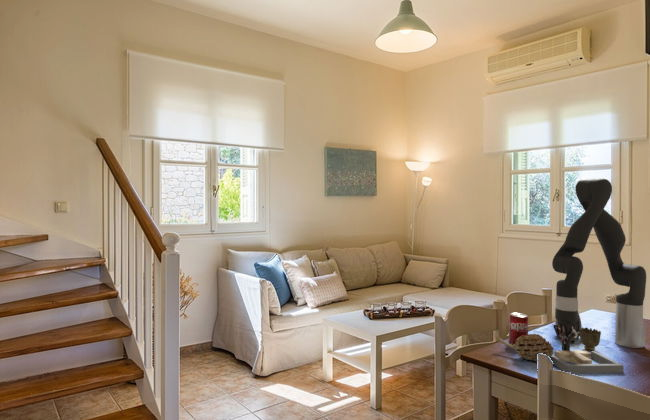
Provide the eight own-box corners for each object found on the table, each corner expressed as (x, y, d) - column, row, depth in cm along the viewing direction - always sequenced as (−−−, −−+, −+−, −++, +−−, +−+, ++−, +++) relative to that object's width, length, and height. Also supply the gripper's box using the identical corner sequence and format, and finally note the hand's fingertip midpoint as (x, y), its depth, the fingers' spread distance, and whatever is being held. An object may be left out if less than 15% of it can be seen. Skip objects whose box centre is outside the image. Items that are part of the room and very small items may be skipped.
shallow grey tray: (594, 357, 162) (594, 351, 162) (623, 372, 147) (623, 365, 147) (543, 357, 161) (543, 351, 160) (567, 373, 146) (567, 365, 146)
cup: (593, 354, 165) (593, 333, 165) (574, 348, 172) (575, 328, 172) (604, 351, 169) (605, 331, 169) (585, 345, 175) (586, 326, 175)
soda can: (530, 347, 173) (530, 317, 172) (510, 345, 174) (511, 316, 174) (525, 341, 180) (525, 313, 180) (506, 340, 181) (507, 312, 181)
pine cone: (557, 362, 156) (558, 335, 156) (548, 369, 149) (549, 340, 149) (497, 347, 172) (498, 322, 172) (487, 353, 165) (487, 327, 165)
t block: (585, 358, 161) (585, 350, 161) (604, 368, 151) (604, 360, 151) (554, 358, 160) (554, 350, 160) (571, 368, 150) (571, 360, 150)
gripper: (587, 312, 157) (586, 359, 157) (564, 303, 170) (564, 347, 170) (568, 312, 156) (567, 359, 157) (546, 303, 170) (546, 347, 170)
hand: (565, 353), depth 163 cm, fingers closed
